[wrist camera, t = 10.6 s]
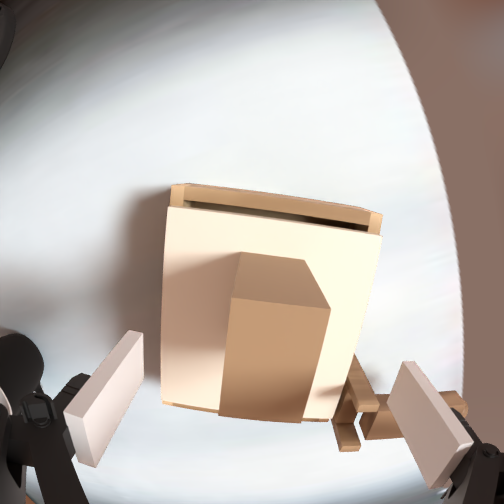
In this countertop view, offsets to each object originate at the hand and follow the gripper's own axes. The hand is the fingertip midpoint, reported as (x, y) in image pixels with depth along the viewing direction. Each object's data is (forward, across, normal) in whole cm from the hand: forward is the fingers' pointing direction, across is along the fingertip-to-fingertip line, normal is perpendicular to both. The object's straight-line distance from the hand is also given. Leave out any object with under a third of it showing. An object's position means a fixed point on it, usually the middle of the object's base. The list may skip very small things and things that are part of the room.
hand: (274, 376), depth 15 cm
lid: (+10, 0, -2) cm, 11 cm away
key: (+9, +16, -9) cm, 20 cm away
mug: (+17, -29, -17) cm, 37 cm away
